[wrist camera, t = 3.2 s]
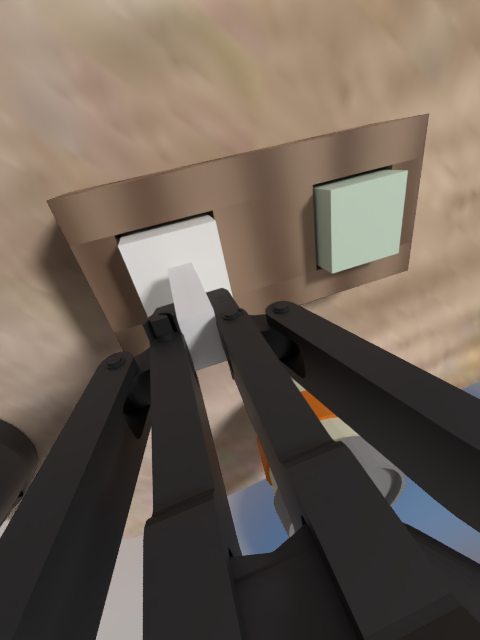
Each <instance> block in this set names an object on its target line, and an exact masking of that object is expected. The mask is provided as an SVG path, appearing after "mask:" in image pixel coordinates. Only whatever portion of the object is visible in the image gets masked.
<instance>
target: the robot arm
mask: <svg viewBox="0 0 480 640" xmlns="http://www.w3.org/2000/svg"><path fill="white" fill-rule="evenodd" d="M167 271H168V276H169V281H170V286H171V291H172V296H173V301H174V303H171V304H168V305H165V306H161V307H158V308H156V310H155V311H154V313H153V315H151V316H149V317H148V318H146V319H145V320H144V321H143V324H142V326H143V328H144V330H145V332H146V335H147V337H148V339H149V341H150V347H149V348H148V349H147V350H145V351H144V352H142V353H140V354H138V355H137V356H135V357H133V355H132V354H131V353H130V352H119V353H115V354H113V355H111V356H109V357H108V358H106V359H105V360H104V361H102V363H101V364H100V365H99V367H98V368H97V370H96V372H95V374H94V375H93V377H92V379H91V381H90V382H89V384H88V386H87V388H86V389H85V391H84V393H83V395H82V396H81V398H80V400H79V402H78V403H77V405H76V407H75V409H74V410H73V412H72V414H71V416H70V417H69V419H68V421H67V423H66V424H65V426H64V428H63V430H62V431H61V433H60V435H59V437H58V438H57V440H56V442H55V444H54V445H53V447H52V449H51V451H50V452H49V454H48V456H47V458H46V459H45V461H44V463H43V465H42V466H41V468H40V470H39V472H38V473H37V475H36V477H35V479H34V480H33V482H32V484H31V486H30V483H31V481H32V478H33V475H34V473H35V470H36V467H37V453H36V449H35V447H34V445H33V443H32V442H31V441H30V439H29V438H28V437H27V436H26V435H25V434H24V433H23V432H21V431H20V430H19V429H17V428H16V427H14V426H13V425H11V424H9V423H7V422H5V421H3V420H1V419H0V526H1V525H2V524H3V522H4V521H5V520H6V518H7V517H8V515H9V514H10V512H11V510H12V509H13V508H14V507H15V506H16V505H17V504H18V503H19V502H20V500H21V499H22V498H23V496H24V495H25V496H24V498H23V500H22V501H21V503H20V505H19V507H18V508H17V510H16V512H15V514H14V515H13V517H12V519H11V521H10V522H9V524H8V526H7V528H6V529H5V531H4V533H3V535H2V536H1V538H0V640H96V636H97V632H98V628H99V624H100V620H101V616H102V612H103V609H104V605H105V601H106V597H107V593H108V590H109V586H110V582H111V578H112V574H113V570H114V567H115V563H116V559H117V555H118V551H119V547H120V544H121V540H122V536H123V532H124V528H125V524H126V521H127V517H128V513H129V509H130V505H131V501H132V498H133V494H134V490H135V486H136V482H137V478H138V475H139V471H140V467H141V463H142V459H143V455H144V452H145V448H146V444H147V440H148V436H149V432H150V428H151V430H152V475H153V514H152V517H151V518H149V519H148V520H147V521H146V524H145V527H144V539H143V640H480V564H479V563H477V562H475V561H473V560H471V559H470V558H468V557H466V556H464V555H463V554H461V553H459V552H457V551H455V550H454V549H452V548H450V547H448V546H446V545H444V544H443V543H441V542H439V541H437V540H436V539H434V538H432V537H430V536H428V535H427V534H425V533H423V532H421V531H419V530H418V529H415V528H414V527H412V526H410V525H408V524H405V523H403V522H401V520H400V519H399V517H398V516H397V515H396V513H395V512H394V510H393V509H392V507H391V506H390V505H389V503H388V502H387V500H386V499H385V498H384V496H383V495H382V493H381V492H380V491H379V489H378V488H377V486H376V485H375V484H374V482H373V481H372V479H371V478H370V477H369V475H368V474H367V472H366V471H365V469H364V468H363V467H362V465H361V464H360V462H359V461H358V460H357V458H356V457H355V455H354V454H353V453H352V451H351V450H350V449H349V448H348V447H347V445H346V444H344V443H343V442H342V441H337V442H336V441H334V440H333V439H332V438H331V436H330V435H329V434H328V432H327V431H326V429H325V428H324V426H323V425H322V423H321V422H320V420H319V419H318V417H317V416H316V414H315V413H314V411H313V410H312V408H311V407H310V405H309V404H308V402H307V401H306V399H305V398H304V396H303V395H302V393H301V392H300V390H299V389H298V387H297V386H296V384H295V383H294V382H293V380H292V379H294V380H295V381H296V382H297V383H298V384H299V385H301V386H302V387H303V388H304V389H305V390H307V391H308V392H309V393H310V394H311V395H312V396H314V397H315V398H316V399H317V400H318V401H319V402H321V403H322V404H323V405H324V406H325V407H327V408H328V409H329V410H330V411H331V412H332V413H334V414H335V415H336V416H337V417H338V418H339V419H341V420H342V421H343V422H344V423H345V424H347V425H348V426H349V427H350V428H351V429H352V430H354V431H355V432H356V433H357V434H358V435H359V436H361V437H362V438H363V439H364V440H365V441H366V442H368V443H369V444H370V445H371V446H372V447H374V448H375V449H376V450H377V451H378V452H379V453H381V454H382V455H383V456H384V457H385V458H386V459H388V460H389V461H390V462H391V463H392V464H394V465H395V466H396V467H397V468H398V469H399V470H401V471H402V472H403V473H404V474H405V475H406V476H408V477H409V478H410V479H411V480H412V481H414V482H415V483H416V484H417V485H418V486H419V487H421V488H422V489H423V490H424V491H425V492H427V493H428V494H429V495H430V496H431V497H432V498H433V499H435V500H436V501H437V502H438V503H440V504H441V505H442V506H444V507H445V508H446V509H447V510H449V511H450V512H451V513H452V514H454V515H455V516H456V517H458V518H459V519H461V520H462V521H464V522H465V523H467V524H468V525H469V526H471V527H472V528H474V529H475V530H477V531H478V532H480V399H478V398H476V397H474V396H472V395H470V394H468V393H467V392H465V391H463V390H461V389H459V388H457V387H455V386H453V385H451V384H449V383H447V382H445V381H443V380H441V379H440V378H438V377H436V376H434V375H432V374H430V373H428V372H426V371H424V370H422V369H420V368H418V367H416V366H414V365H413V364H411V363H409V362H407V361H405V360H403V359H401V358H399V357H397V356H395V355H393V354H391V353H389V352H387V351H386V350H384V349H382V348H380V347H378V346H376V345H374V344H372V343H370V342H368V341H366V340H364V339H362V338H360V337H359V336H357V335H355V334H353V333H351V332H349V331H347V330H345V329H343V328H341V327H339V326H337V325H335V324H333V323H332V322H330V321H328V320H326V319H324V318H322V317H320V316H318V315H316V314H314V313H312V312H310V311H308V310H306V309H304V308H303V307H301V306H299V305H297V304H295V303H293V302H289V301H277V302H275V303H272V304H270V305H269V306H267V308H266V309H265V313H266V314H261V315H248V313H247V312H246V311H245V310H244V309H242V308H239V306H238V305H237V303H236V302H235V300H234V299H233V297H232V296H231V294H230V293H229V291H228V290H226V289H224V288H219V289H216V290H213V291H209V292H205V290H204V288H203V286H202V284H201V281H200V279H199V277H198V275H197V273H196V271H195V268H194V266H193V264H192V262H190V263H186V264H182V265H179V266H175V267H172V268H168V269H167ZM227 360H228V364H229V367H230V371H231V375H232V378H233V380H235V382H236V385H237V387H238V390H239V392H240V395H241V397H242V399H243V402H244V404H245V407H246V409H247V412H248V414H249V417H250V419H251V422H252V424H253V427H254V429H255V432H256V434H257V437H258V439H259V442H260V444H261V447H262V449H263V451H264V454H265V456H266V459H267V461H268V464H269V466H270V469H271V471H272V474H273V476H274V479H275V481H276V484H277V486H278V489H279V491H280V494H281V496H282V499H283V501H284V503H285V506H286V508H287V511H288V513H289V516H290V519H291V521H292V524H293V527H294V530H295V533H294V534H293V535H292V536H291V537H290V538H289V539H287V541H285V542H284V543H283V544H282V545H281V546H280V547H279V548H277V549H276V550H275V551H273V552H271V553H265V554H255V555H246V556H242V553H241V550H240V547H239V543H238V539H237V536H236V532H235V527H234V523H233V519H232V515H231V511H230V507H229V503H228V499H227V495H226V491H225V486H224V482H223V478H222V474H221V470H220V466H219V462H218V458H217V454H216V450H215V446H214V442H213V437H212V433H211V429H210V425H209V421H208V417H207V413H206V409H205V405H204V401H203V397H202V393H201V389H200V384H199V380H198V377H197V374H196V371H197V370H200V369H203V368H206V367H209V366H212V365H215V364H218V363H221V362H224V361H227ZM291 378H292V379H291ZM29 486H30V487H29ZM28 488H29V489H28ZM27 490H28V491H27ZM26 492H27V493H26ZM25 493H26V494H25Z"/></svg>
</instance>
